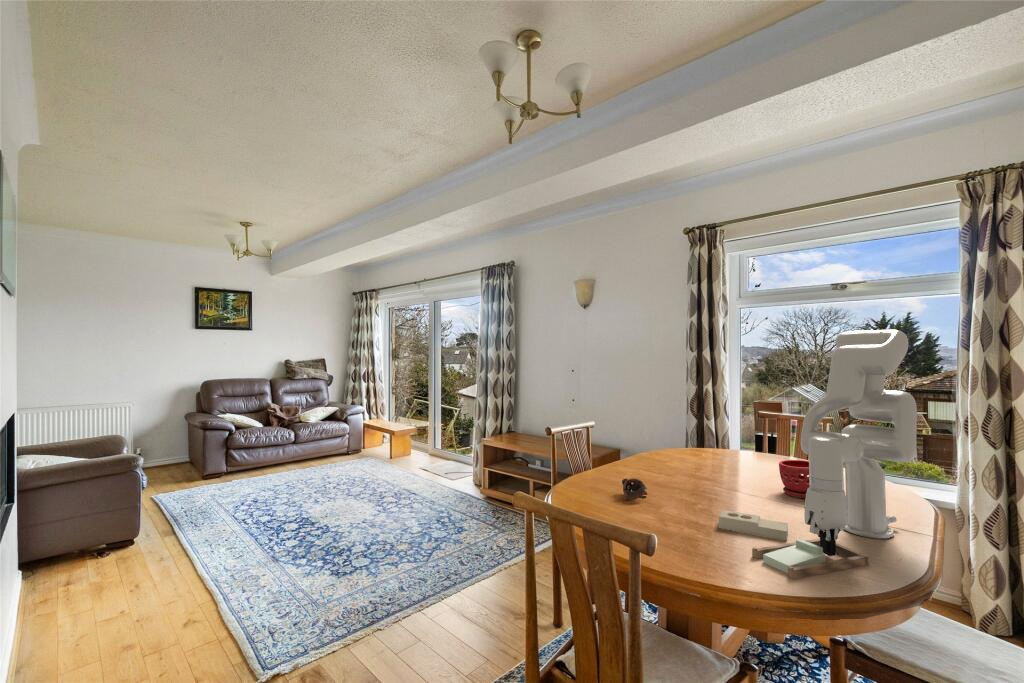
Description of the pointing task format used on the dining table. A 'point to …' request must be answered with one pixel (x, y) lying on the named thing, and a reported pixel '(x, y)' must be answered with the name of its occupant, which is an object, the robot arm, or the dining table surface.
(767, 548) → the brown u-shaped frame
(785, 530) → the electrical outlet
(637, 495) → the dark turtle figurine
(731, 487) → the dining table surface
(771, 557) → the cover plate
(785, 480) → the plant pot
